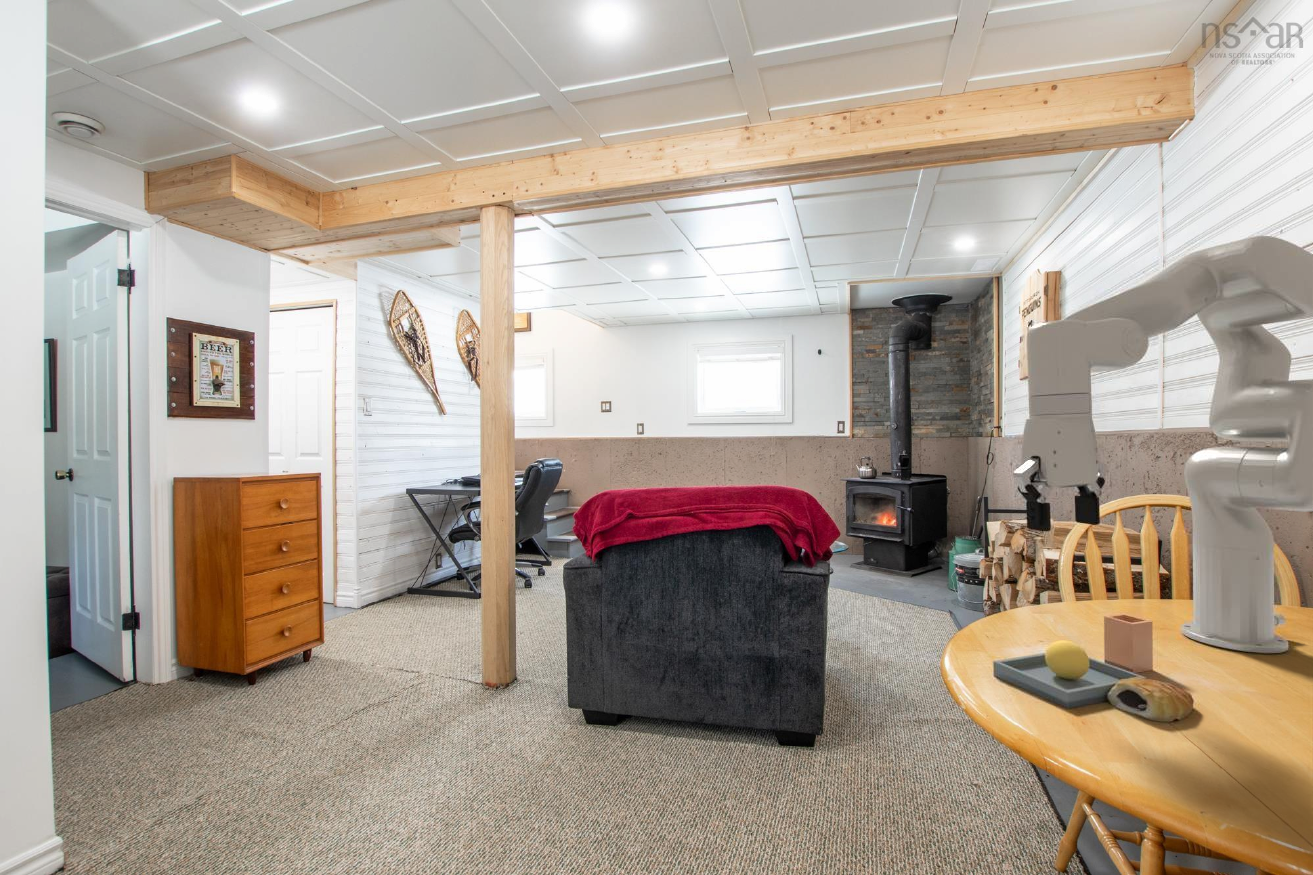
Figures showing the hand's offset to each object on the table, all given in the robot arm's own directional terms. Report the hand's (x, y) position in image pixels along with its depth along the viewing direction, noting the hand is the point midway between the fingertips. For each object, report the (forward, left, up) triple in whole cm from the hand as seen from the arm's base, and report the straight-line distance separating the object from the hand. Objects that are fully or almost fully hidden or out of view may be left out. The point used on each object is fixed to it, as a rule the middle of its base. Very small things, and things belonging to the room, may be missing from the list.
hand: (1063, 526), depth 87 cm
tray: (+4, +4, -21) cm, 21 cm away
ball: (+4, +4, -17) cm, 18 cm away
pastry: (+1, +12, -21) cm, 25 cm away
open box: (-10, +2, -21) cm, 23 cm away
